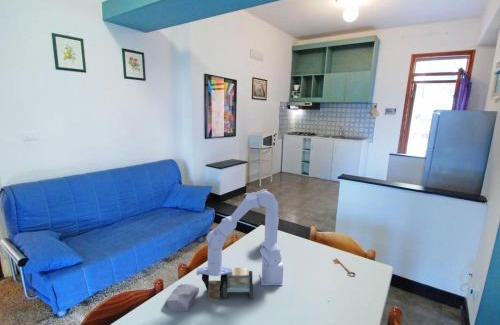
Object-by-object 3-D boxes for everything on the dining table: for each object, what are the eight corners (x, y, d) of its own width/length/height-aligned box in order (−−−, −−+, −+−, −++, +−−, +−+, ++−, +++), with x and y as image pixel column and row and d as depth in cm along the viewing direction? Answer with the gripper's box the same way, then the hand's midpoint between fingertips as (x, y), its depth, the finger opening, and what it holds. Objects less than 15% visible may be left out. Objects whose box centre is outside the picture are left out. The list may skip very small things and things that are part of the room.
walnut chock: (220, 287, 111) (220, 275, 110) (219, 299, 104) (219, 286, 103) (210, 287, 111) (210, 275, 109) (208, 299, 104) (208, 286, 103)
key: (329, 260, 134) (345, 278, 120) (329, 259, 134) (345, 276, 120) (339, 258, 135) (356, 276, 121) (339, 257, 135) (357, 274, 121)
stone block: (165, 313, 99) (189, 312, 97) (162, 301, 98) (186, 301, 96) (179, 293, 110) (201, 292, 108) (177, 282, 110) (199, 282, 108)
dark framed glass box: (251, 278, 117) (252, 258, 115) (253, 300, 104) (253, 277, 102) (225, 278, 117) (225, 257, 115) (223, 300, 103) (223, 277, 101)
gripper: (233, 254, 108) (232, 283, 111) (198, 254, 107) (198, 283, 110) (232, 264, 101) (231, 295, 104) (195, 264, 101) (195, 294, 103)
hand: (214, 289), depth 106 cm, fingers open, 5 cm apart
